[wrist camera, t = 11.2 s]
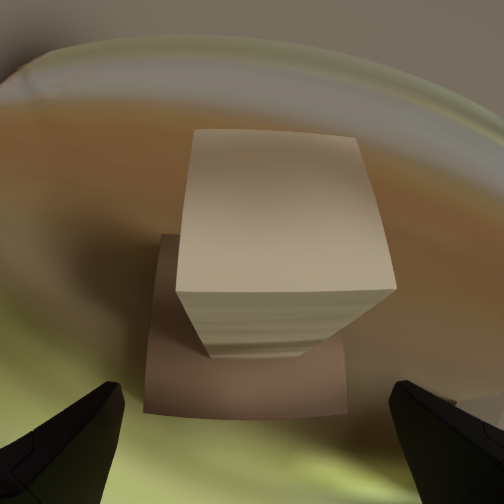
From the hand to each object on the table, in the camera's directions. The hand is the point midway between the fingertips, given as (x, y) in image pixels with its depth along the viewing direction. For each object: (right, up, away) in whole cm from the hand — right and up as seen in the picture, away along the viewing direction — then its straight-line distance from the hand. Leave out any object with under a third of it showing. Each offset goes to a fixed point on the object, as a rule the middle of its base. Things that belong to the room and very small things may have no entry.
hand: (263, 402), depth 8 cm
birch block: (0, +1, +10) cm, 10 cm away
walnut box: (-1, -2, +13) cm, 13 cm away
